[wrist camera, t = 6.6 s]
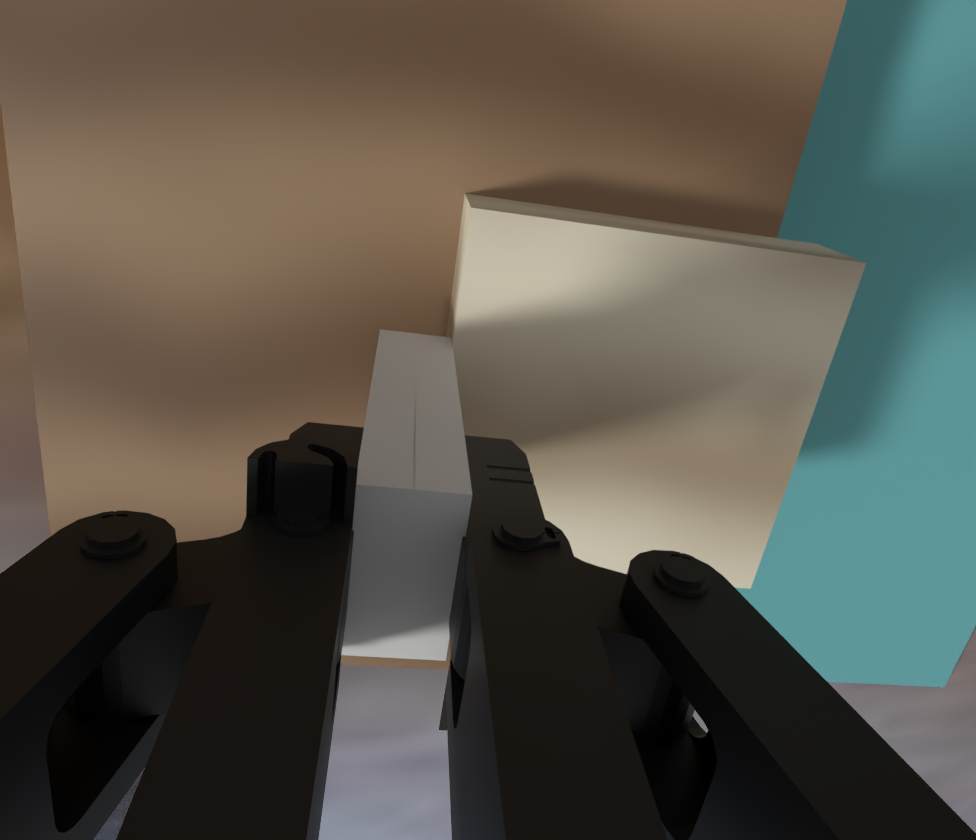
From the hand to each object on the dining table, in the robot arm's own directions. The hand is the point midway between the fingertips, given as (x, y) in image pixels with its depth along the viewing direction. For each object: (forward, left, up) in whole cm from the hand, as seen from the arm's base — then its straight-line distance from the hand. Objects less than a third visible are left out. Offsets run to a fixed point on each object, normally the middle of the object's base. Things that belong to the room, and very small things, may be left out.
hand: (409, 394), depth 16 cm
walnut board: (0, 0, -5) cm, 5 cm away
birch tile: (0, +5, -1) cm, 5 cm away
